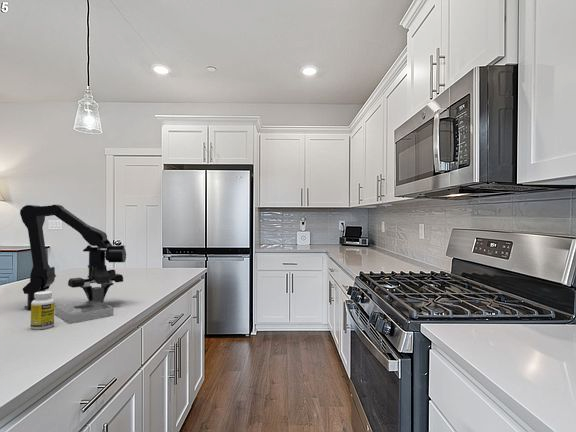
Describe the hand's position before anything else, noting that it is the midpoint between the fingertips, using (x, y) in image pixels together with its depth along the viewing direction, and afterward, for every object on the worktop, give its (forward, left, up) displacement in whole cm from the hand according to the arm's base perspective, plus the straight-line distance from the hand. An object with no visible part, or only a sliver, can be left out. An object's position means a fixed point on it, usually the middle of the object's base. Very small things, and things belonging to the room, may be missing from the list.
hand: (96, 301), depth 141 cm
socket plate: (+11, -8, -2) cm, 14 cm away
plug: (0, 0, -2) cm, 2 cm away
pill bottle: (+17, -22, -2) cm, 28 cm away
